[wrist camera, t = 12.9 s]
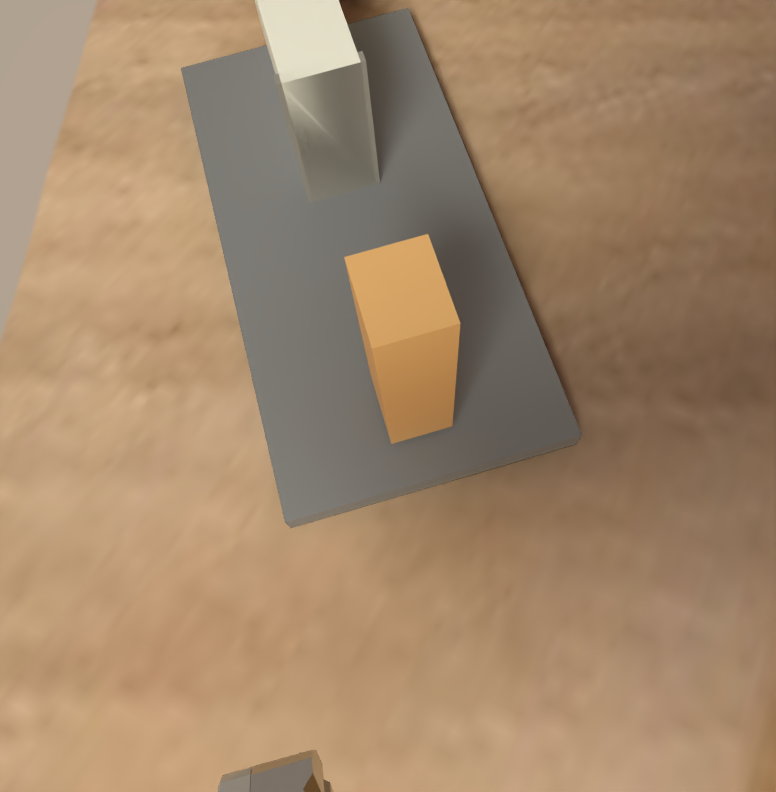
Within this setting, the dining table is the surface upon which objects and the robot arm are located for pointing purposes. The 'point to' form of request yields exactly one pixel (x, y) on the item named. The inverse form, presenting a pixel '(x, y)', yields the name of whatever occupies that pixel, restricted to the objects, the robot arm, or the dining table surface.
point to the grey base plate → (354, 233)
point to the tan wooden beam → (407, 334)
